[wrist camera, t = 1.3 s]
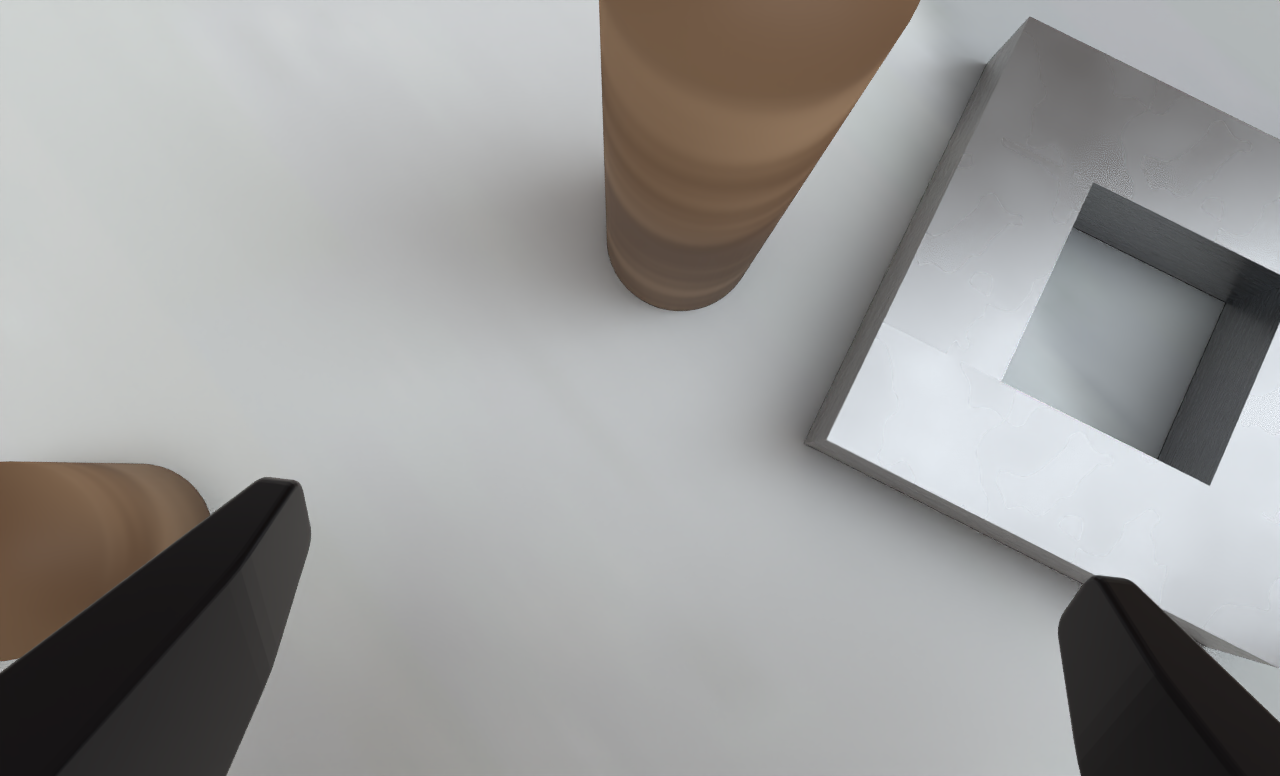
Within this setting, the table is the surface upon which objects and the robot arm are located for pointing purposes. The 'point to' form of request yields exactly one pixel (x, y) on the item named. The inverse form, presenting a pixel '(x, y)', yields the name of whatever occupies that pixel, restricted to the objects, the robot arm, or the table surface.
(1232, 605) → the hole collar
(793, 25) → the tall pin
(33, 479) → the stub pin
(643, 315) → the table surface
